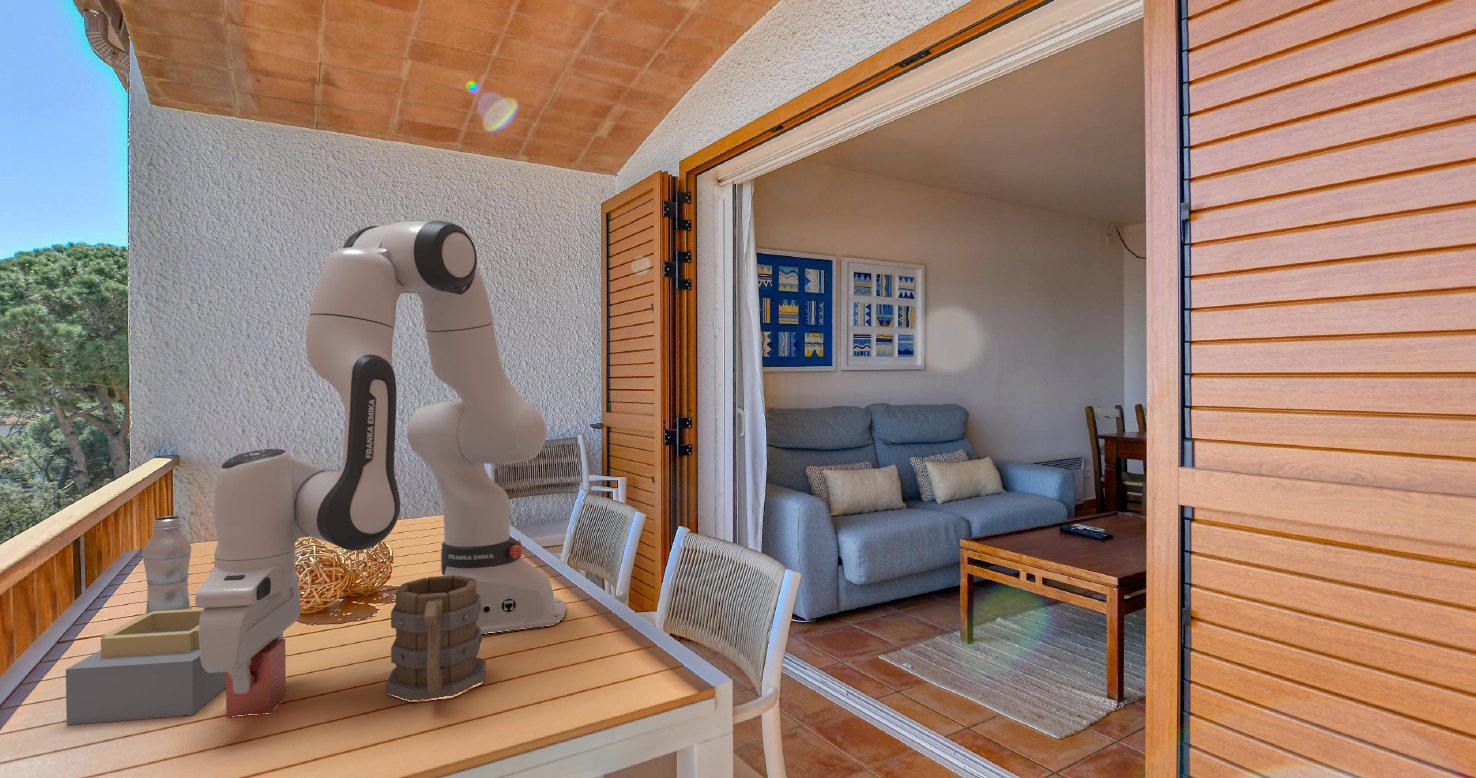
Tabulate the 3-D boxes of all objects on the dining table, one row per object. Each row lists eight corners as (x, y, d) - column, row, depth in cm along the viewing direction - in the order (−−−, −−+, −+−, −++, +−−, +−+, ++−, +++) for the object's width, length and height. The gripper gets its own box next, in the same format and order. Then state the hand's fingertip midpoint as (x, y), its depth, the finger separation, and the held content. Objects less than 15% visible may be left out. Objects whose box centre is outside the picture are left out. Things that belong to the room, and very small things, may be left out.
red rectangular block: (285, 697, 99) (285, 635, 99) (269, 714, 94) (269, 649, 94) (229, 701, 97) (228, 639, 97) (209, 718, 92) (208, 653, 92)
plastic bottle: (166, 646, 117) (165, 522, 117) (132, 643, 119) (130, 520, 118) (203, 632, 124) (202, 515, 123) (170, 629, 125) (169, 513, 125)
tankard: (397, 670, 108) (396, 569, 108) (487, 661, 111) (486, 563, 111) (368, 733, 89) (367, 611, 88) (478, 720, 92) (477, 602, 92)
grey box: (262, 656, 113) (262, 595, 113) (192, 714, 93) (192, 641, 93) (160, 663, 110) (159, 600, 110) (66, 724, 91) (65, 649, 91)
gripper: (264, 556, 105) (265, 651, 105) (186, 598, 85) (187, 716, 85) (312, 554, 106) (313, 648, 106) (246, 595, 86) (247, 711, 86)
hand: (256, 679), depth 96 cm, fingers open, 6 cm apart
